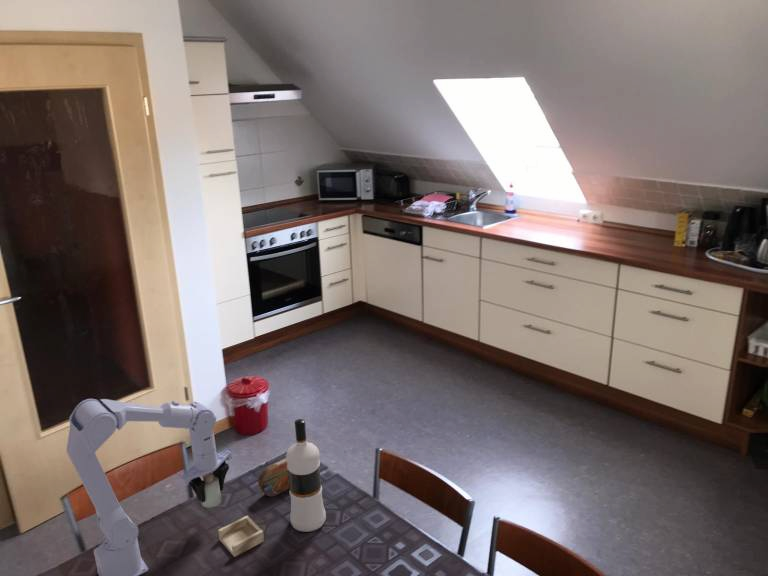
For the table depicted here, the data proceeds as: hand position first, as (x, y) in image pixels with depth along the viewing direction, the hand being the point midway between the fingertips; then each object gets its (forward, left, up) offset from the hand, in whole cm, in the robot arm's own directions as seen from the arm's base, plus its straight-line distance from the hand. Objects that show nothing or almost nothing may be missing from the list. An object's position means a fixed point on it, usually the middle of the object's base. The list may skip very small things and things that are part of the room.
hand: (210, 494), depth 160 cm
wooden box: (+2, -11, -9) cm, 14 cm away
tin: (+22, +1, -9) cm, 24 cm away
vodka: (+19, -16, -9) cm, 26 cm away
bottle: (0, 0, -2) cm, 2 cm away
